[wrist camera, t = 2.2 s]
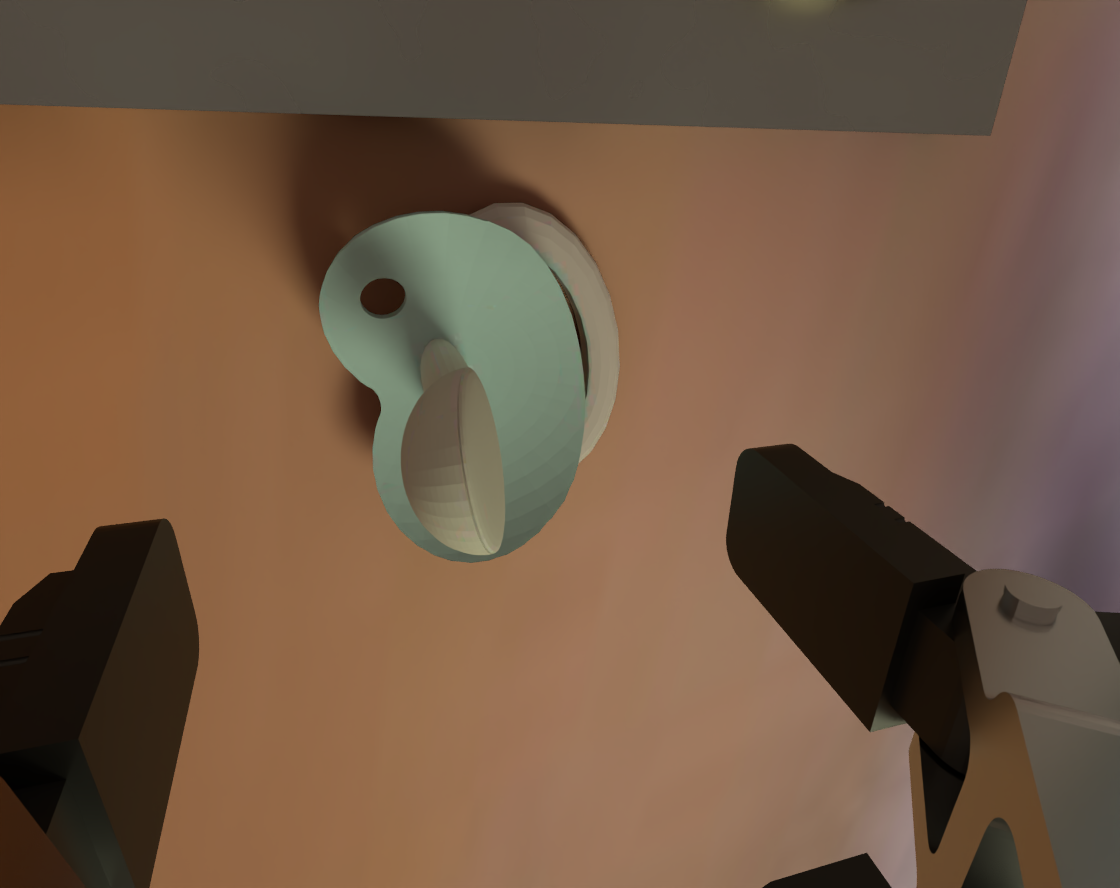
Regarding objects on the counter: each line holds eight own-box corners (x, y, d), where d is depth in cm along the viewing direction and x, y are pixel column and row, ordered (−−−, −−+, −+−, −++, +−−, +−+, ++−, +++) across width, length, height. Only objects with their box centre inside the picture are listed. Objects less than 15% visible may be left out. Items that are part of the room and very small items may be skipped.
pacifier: (583, 156, 15) (291, 221, 14) (737, 189, 10) (277, 300, 8) (627, 458, 18) (396, 530, 17) (757, 607, 13) (434, 726, 12)
